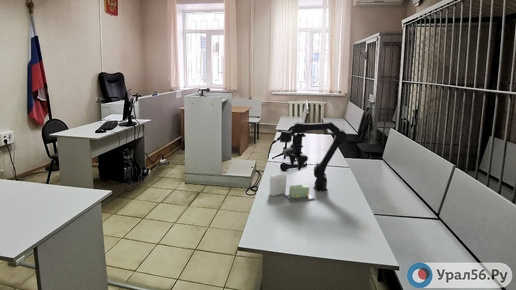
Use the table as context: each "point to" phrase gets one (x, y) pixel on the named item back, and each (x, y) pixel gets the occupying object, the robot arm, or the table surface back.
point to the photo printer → (277, 184)
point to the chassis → (298, 199)
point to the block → (298, 191)
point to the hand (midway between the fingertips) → (295, 168)
